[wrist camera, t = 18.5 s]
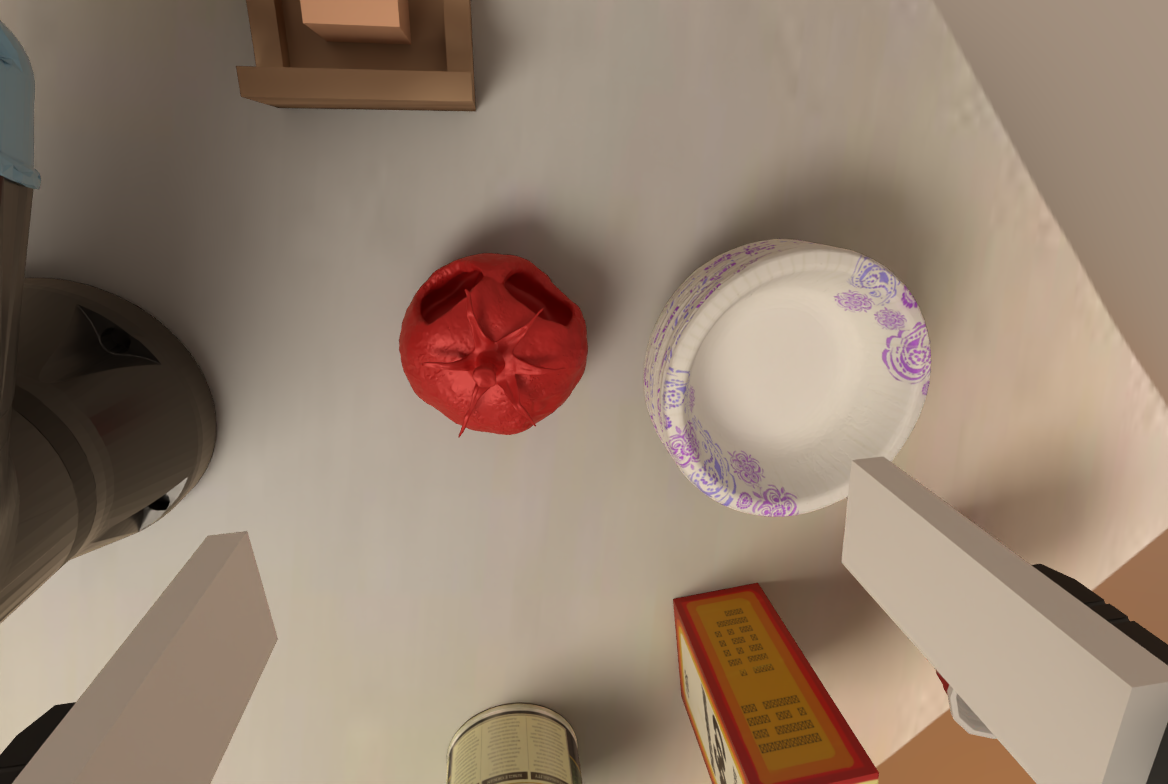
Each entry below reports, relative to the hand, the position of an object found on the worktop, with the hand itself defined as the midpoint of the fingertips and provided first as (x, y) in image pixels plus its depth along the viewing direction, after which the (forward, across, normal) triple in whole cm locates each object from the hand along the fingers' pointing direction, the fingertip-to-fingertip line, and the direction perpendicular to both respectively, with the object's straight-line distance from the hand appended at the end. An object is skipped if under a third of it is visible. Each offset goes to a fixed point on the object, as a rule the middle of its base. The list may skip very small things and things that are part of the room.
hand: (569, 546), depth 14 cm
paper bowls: (+25, -14, +4) cm, 29 cm away
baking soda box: (+25, -13, +27) cm, 39 cm away
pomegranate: (+25, +2, +1) cm, 25 cm away
